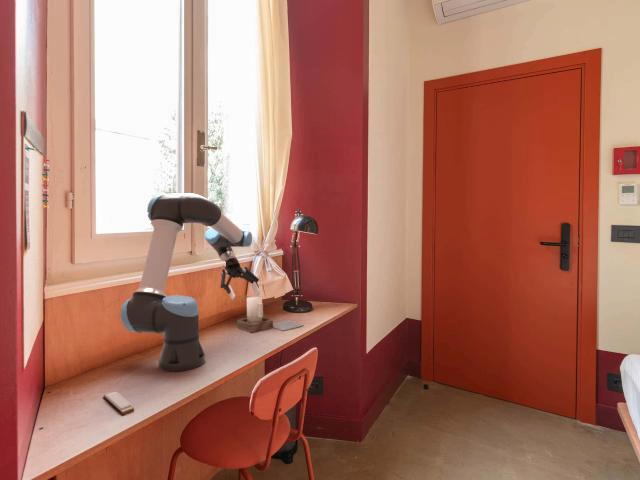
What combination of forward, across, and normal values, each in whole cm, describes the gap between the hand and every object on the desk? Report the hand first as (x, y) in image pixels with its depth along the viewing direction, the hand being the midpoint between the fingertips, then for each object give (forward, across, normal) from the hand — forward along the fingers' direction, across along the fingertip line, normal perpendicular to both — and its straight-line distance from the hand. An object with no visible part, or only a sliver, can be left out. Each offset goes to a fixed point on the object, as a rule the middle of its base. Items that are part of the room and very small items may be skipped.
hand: (246, 296), depth 181 cm
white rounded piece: (+14, 0, +2) cm, 14 cm away
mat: (+20, +12, -1) cm, 24 cm away
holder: (+15, 0, +5) cm, 15 cm away
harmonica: (+41, -67, -21) cm, 81 cm away
